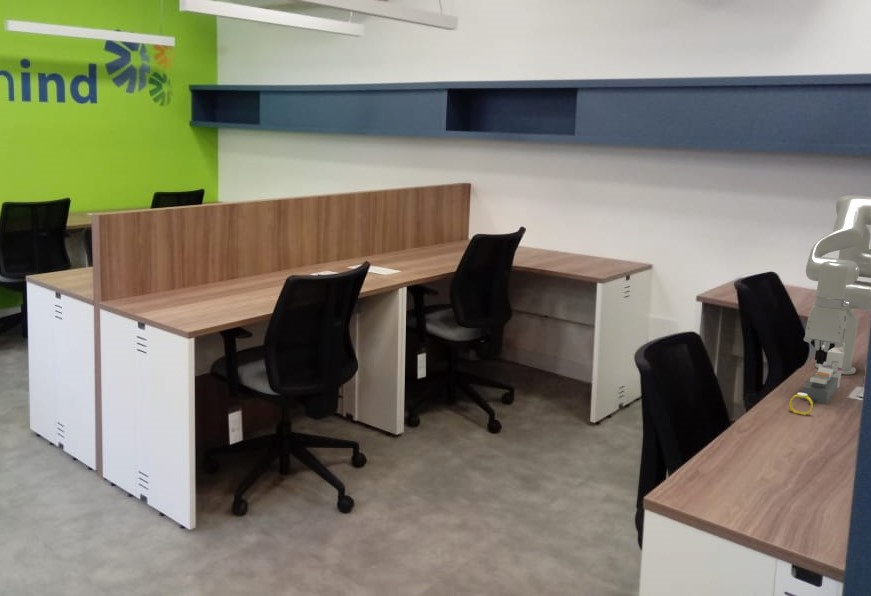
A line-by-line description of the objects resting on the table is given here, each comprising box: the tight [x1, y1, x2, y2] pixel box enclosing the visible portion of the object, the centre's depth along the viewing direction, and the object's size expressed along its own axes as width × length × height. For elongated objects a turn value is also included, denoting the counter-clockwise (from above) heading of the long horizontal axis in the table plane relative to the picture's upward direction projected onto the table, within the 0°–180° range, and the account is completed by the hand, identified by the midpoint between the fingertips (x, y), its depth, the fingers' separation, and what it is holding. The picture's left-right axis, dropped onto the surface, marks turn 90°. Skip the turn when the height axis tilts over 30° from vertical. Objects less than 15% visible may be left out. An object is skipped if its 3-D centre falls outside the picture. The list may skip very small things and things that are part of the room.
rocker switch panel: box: [800, 373, 838, 406], centre depth 243 cm, size 22×7×5 cm, turn 145°
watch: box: [788, 392, 814, 416], centre depth 226 cm, size 6×3×6 cm, turn 55°
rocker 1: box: [815, 367, 833, 381], centre depth 247 cm, size 6×4×2 cm
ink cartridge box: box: [819, 343, 845, 389], centre depth 255 cm, size 9×5×15 cm, turn 168°
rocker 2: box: [809, 376, 828, 384], centre depth 240 cm, size 6×4×2 cm
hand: (820, 363), depth 237 cm, fingers closed
